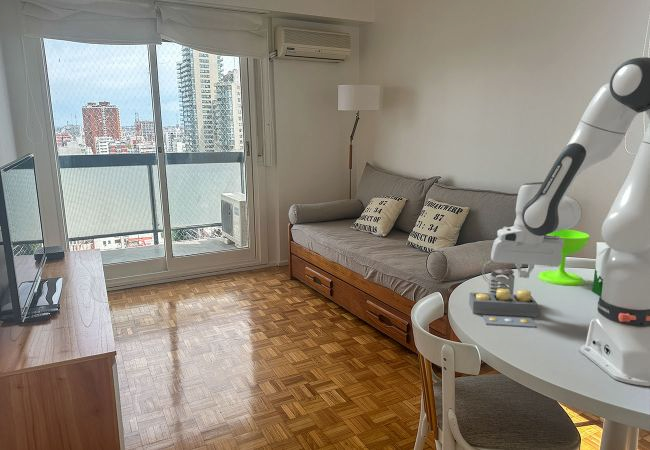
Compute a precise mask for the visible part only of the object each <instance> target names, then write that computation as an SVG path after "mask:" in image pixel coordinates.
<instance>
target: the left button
mask: <svg viewBox="0 0 650 450" xmlns="http://www.w3.org/2000/svg"><path fill="white" fill-rule="evenodd" d="M476 300H489V296H488V295H486V294H476Z"/></svg>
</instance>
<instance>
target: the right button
mask: <svg viewBox="0 0 650 450" xmlns="http://www.w3.org/2000/svg"><path fill="white" fill-rule="evenodd" d="M516 295H517V298H516V300H517V301H518V302H530V298H531V296H532V292H531V291H530V290H527V289H518V290H516Z"/></svg>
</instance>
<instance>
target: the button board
mask: <svg viewBox="0 0 650 450" xmlns="http://www.w3.org/2000/svg"><path fill="white" fill-rule="evenodd" d="M476 294H486V295H488V296H489V300H476ZM516 298H517V294H514V293H513V294H510V299H509V301H497V300H496V294H492V293H488V292H469V301H468V304H469V307H470V309H471V311H472V314H480V315H481V314H482V319H483V320H484V323H485V325H490V326H503V327H504V326H509V327H521V328H523V327H525V328H537V325H536V324H535V322H534V321H533V320H532V318H531V317H534V318H535V317H536V318H537V317H538V312H539V311H538V310H539V303H538V302H537V301H536V300H535V299H534V297H533V296H532V295H531V298H530V302H518V301H517V300H516Z"/></svg>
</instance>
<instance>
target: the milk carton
mask: <svg viewBox="0 0 650 450" xmlns="http://www.w3.org/2000/svg"><path fill="white" fill-rule="evenodd" d="M610 252H611V248H610V247H609V246H608V245H607V244H606V243H605V241H603V242H600V241H597V242H596V259H595V265H594V275H593V283H592V290H591V292H592V293H594V294H596V295H597V296H599V297H600V296H601V294H602V286H603V278H604V270H605V266H606V264H607V261H608V258H609V255H610Z"/></svg>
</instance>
